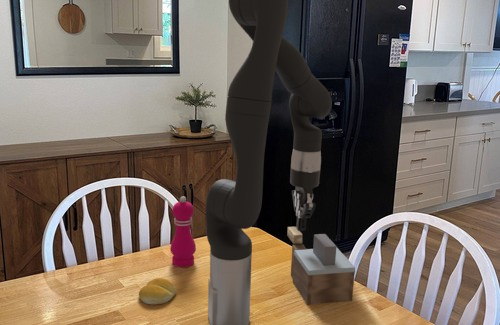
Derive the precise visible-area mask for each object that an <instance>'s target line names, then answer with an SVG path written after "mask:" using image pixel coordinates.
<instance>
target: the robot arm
mask: <svg viewBox="0 0 500 325" xmlns="http://www.w3.org/2000/svg"><path fill="white" fill-rule="evenodd" d="M228 6H229V10H230V13H231V16H232V17H233V18H234V20H235V21H236V23H237V24H238V25H239V27H240V28H242V29H243V31H244V33H246V34H247V35H248V37H249V38H250V40H252V41H253V42H252V46H251V48H250V51H249V53H248V55H247V57H246V59H245V60H244V62H243V63H242V65H241V66H240V67H239V69H238V71H237V72H236V74H235V75H234V77H233V78H232V81H231V82H230V85H229V86H228V90H227V91H228V92H227V98H226V108H225V116H224V117H225V119H224V120H225V127H226V130H227V133H228V137H229V139H230V142H231V145H232V147H233V151H234V155H235V159H236V174H235V175H236V176H235V177H236V178H235V181H234V180H232V179H227V178H226V179H225V178H223V179H222V178H221V179H219V180H217V181H215V182H214V183H213V184H212V185H211V186H210V187H209V190H208V192H207V195H206V201H205V223H206V238H207V242H208V244H209V248H210V250H209V252H210V253H209V279H208V288H207V289H208V291H207V292H208V293H207V296H208V297H207V301H208V302H207V304H208V305H207V317H208V322H209V325H249V324H250V319H251V318H250V316H251V288H252V287H251V283H252V280H251V279H252V262H253V261H252V258H253V257H252V254H253V242H252V239H251V238H250V236H248V235H247V233H245V231H244V230H247V229H250V228H251V227H253V226H254V224H256V222H257V220H258V218H259V217H260V214H261V208H262V203H263V190H264V189H263V187H264V186H263V185H264V166H265V165H264V164H265V163H264V162H265V154H266V153H265V152H266V151H265V149H266V143H267V135H268V127H269V122H270V115H271V114H270V113H271V107H272V99H273V98H272V97H273V88H274V81H275V77H276V76H275V74H276V73H277V75H278V77H279V79H280V81H281V83H282V85H283V86H284V87H285V88H284V89H286V91H287V92H289V94H290V97H289V100H288V102H289V103H288V105H289V106H288V107H289V113H290V119H291V124H292V129H293V145H292V148H293V149H292V154H291V160H290V162H291V163H290V175H289V176H290V177H289V183H290V184H291V185H292V186H293V187H295V189H294V190H291V195H292V196H291V197H292V202H293V210H294V212H295V216H296V226H295V227H296V229H297V230H298V231H300V232H306V231H307V221H308V220H307V219H310V218H311V217H312V215H313V213H314V211H315V209H316V206H317V205H316V203H315V202H313V199H314V193H313V189H315V188H317V187H318V186H319V184H320V175H321V164H322V156H321V155H322V153H321V151H322V150H321V148H322V140H323V139H322V138H323V132H322V130H321V128H319V127H317V126H316V125H313V124H312V123H311V121H310V118H313V119H323V118H325V117H327V116H328V115H329V113H330V112H331V110H332V106H333V102H332V97H331V95H330V93H329V90H328V89H327V88H326V87H325V86H324V85H323V83H322V82H321V81H320V80H319V79H318V78H317V77H315V75H313V73H312V71H311V70H310V67H309V64H307V61H306V59H305V57H304V56H303V54H302V53H301V51H299V49H298V48H297V47H296V46H294V44H292V43H291V42H290V41H289V40H287V39H286V37H284V36H283V34H284V29H285V27H286V26H285V25H286V20H287V15H288V10H289V8H288V7H289V0H228Z"/></svg>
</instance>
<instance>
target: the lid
mask: <svg viewBox="0 0 500 325" xmlns="http://www.w3.org/2000/svg"><path fill="white" fill-rule="evenodd" d="M312 247H313V248H306V249H304V250H294V255H295V256H296V258H297V259H298V261H299V262H300V264H301V265H302V266H303V268H304V269H305V271H306V272H307V274H308V275H318V274H331V273H345V272H355V271H356V267H355V265H353V263H352V262H351V261H350V259H348V258H347V256H346V255H345V254H343V253H342V252H341V250H340V249H339V248H338V246H337V245H336V244H335V243H334V242H333V240H331V238H329V236H328V235H327V234H326V233H318V234H317V233H316V234H314V235H313V246H312ZM355 273H356V272H355Z"/></svg>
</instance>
